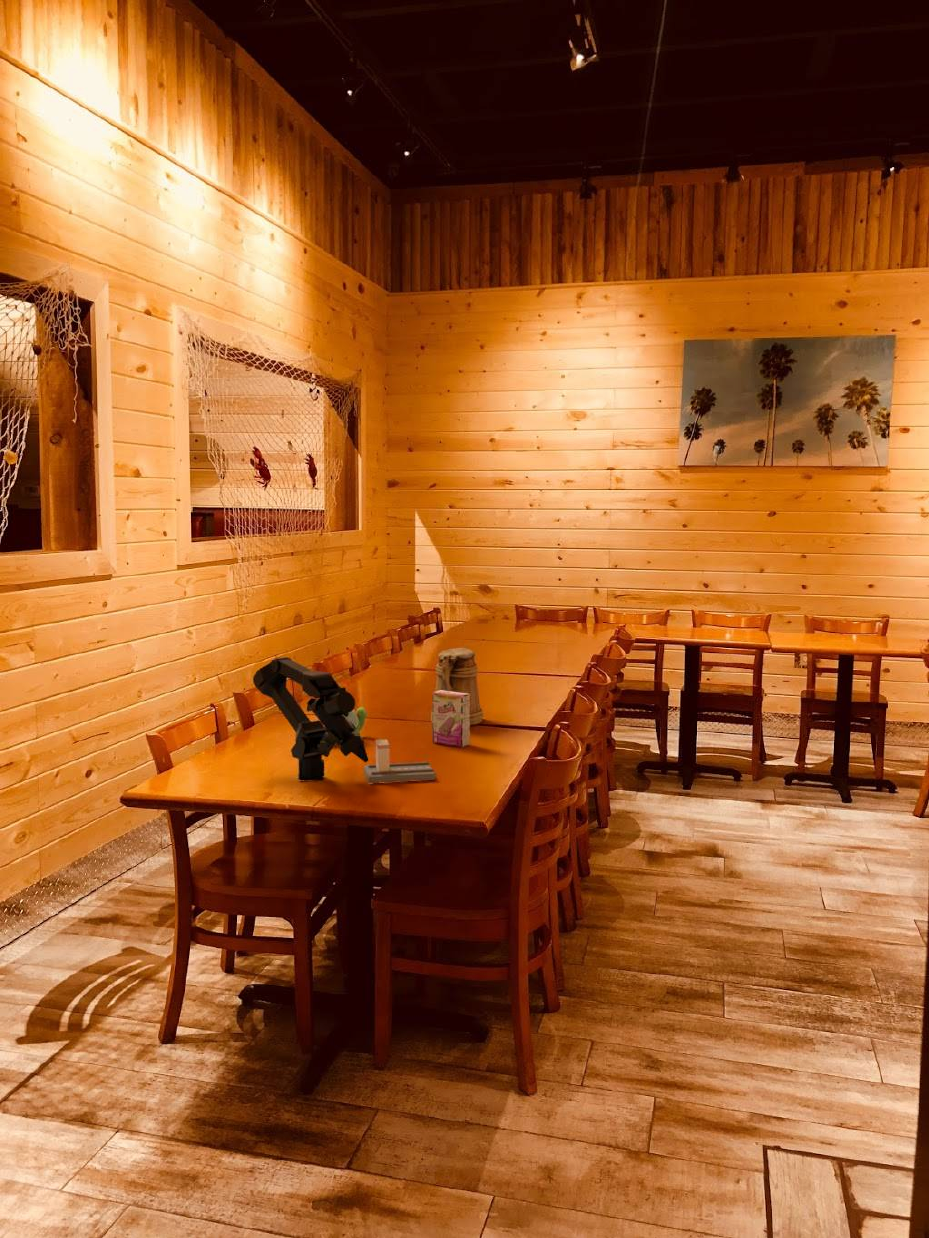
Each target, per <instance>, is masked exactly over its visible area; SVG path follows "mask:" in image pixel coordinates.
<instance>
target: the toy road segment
mask: <svg viewBox="0 0 929 1238" xmlns="http://www.w3.org/2000/svg"><path fill="white" fill-rule="evenodd" d="M389 770H390V771H379V772H378V770H377V768H376V764H367V765H365V764H364V765H363V772H365V773H364V776H365V775H366V776H365V779H366V780H368V781H367V783H368V782H369V783H379V782H396V781H410V780H436V773H435V771H434V768H432V767H431V765H430V761H422V762H421V761H420V762H419V761H418V762H417V761H416V762H401V763H400V762H399V763H389Z"/></svg>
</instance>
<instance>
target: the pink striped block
mask: <svg viewBox="0 0 929 1238" xmlns="http://www.w3.org/2000/svg"><path fill="white" fill-rule="evenodd" d="M390 748H391V747H390V743H389V741H388V739H375V765H376V768H377V770H378V772H379V771H390V770H389V764H390Z"/></svg>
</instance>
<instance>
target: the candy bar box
mask: <svg viewBox="0 0 929 1238" xmlns="http://www.w3.org/2000/svg"><path fill="white" fill-rule="evenodd" d="M435 691H436V690H435ZM435 691H433V692H432V709H433V722H432V744H439V745H442V746H443V745H445V746H452V747H457V748H465V747H467V746H469V745H470V742H471V741H470V740H471V739H470V738H471V737H470V735H471V734H470V733H471V732H470V731H471V726H470V694H468V693H460V692H452V691H445V690H439V691H436V692H435Z"/></svg>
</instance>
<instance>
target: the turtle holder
mask: <svg viewBox="0 0 929 1238" xmlns="http://www.w3.org/2000/svg"><path fill="white" fill-rule="evenodd" d="M343 715H344V717H345V718H346V719H347V720H348V721H351V722H352V723H353V724H354V725H355V727H356V729H355V731H353V732H352V733H358V732H359V734H360V732H361V731H362V730H363V727H364V725H365V723H366V722H365V719H367V717H368V712H367V711H366V709H365V707H364V706H362V707H359V708H357V709H356V710H355V708H354V709H353V710H352V711H351V712H349V713H346V714H343ZM317 719H318V718H317ZM318 720H319V719H318ZM318 720H317V721H318ZM319 721H320V720H319ZM320 722H321V721H320ZM322 725H323V724H322ZM323 726H324V725H323ZM324 727H325V726H324ZM335 746H338V745H337V744H336V743H335Z"/></svg>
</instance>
